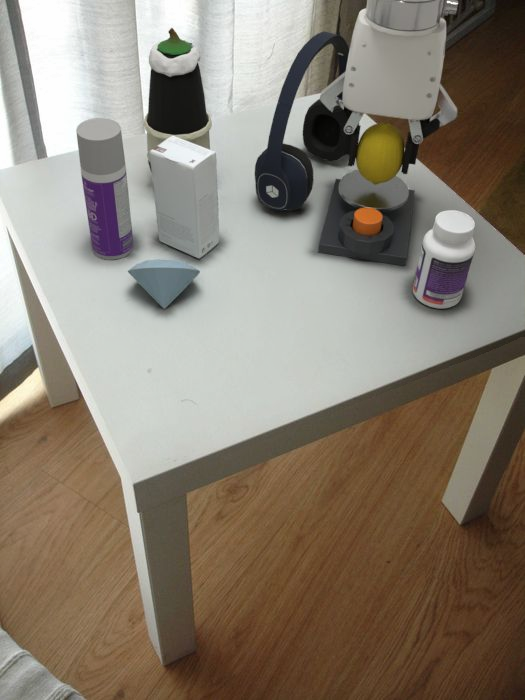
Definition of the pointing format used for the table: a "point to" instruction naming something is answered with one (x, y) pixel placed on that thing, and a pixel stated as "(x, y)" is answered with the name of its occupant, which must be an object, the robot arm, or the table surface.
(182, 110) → the toy
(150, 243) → the table surface
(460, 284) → the pill bottle
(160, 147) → the cosmetic box
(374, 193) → the scale pan
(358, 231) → the tare button
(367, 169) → the lemon
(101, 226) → the container
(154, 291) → the gemstone
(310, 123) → the earphone
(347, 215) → the scale
